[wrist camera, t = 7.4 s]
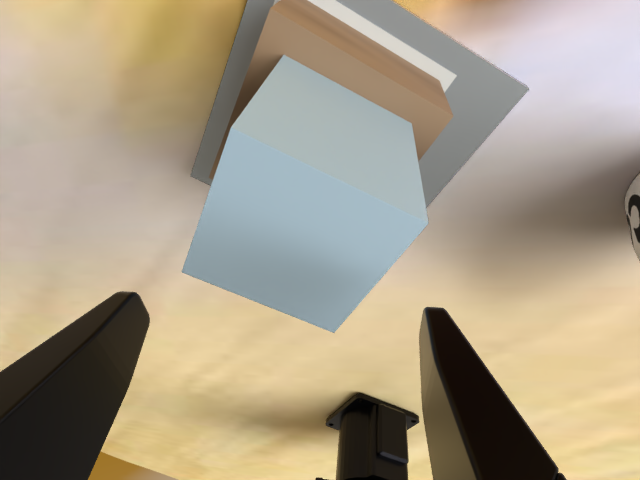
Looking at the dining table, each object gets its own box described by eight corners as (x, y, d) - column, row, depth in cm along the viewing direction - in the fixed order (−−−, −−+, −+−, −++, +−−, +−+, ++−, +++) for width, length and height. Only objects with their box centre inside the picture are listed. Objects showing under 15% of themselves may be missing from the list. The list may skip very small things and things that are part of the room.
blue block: (345, 221, 17) (333, 332, 12) (238, 171, 16) (181, 272, 11) (411, 123, 14) (428, 222, 9) (283, 54, 13) (230, 127, 8)
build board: (377, 259, 24) (377, 265, 24) (192, 172, 22) (189, 177, 21) (526, 85, 17) (529, 89, 16) (274, -76, 14) (271, -76, 14)
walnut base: (356, 198, 21) (353, 246, 18) (235, 137, 19) (208, 177, 16) (439, 80, 17) (453, 116, 14) (292, -10, 15) (270, 8, 12)
